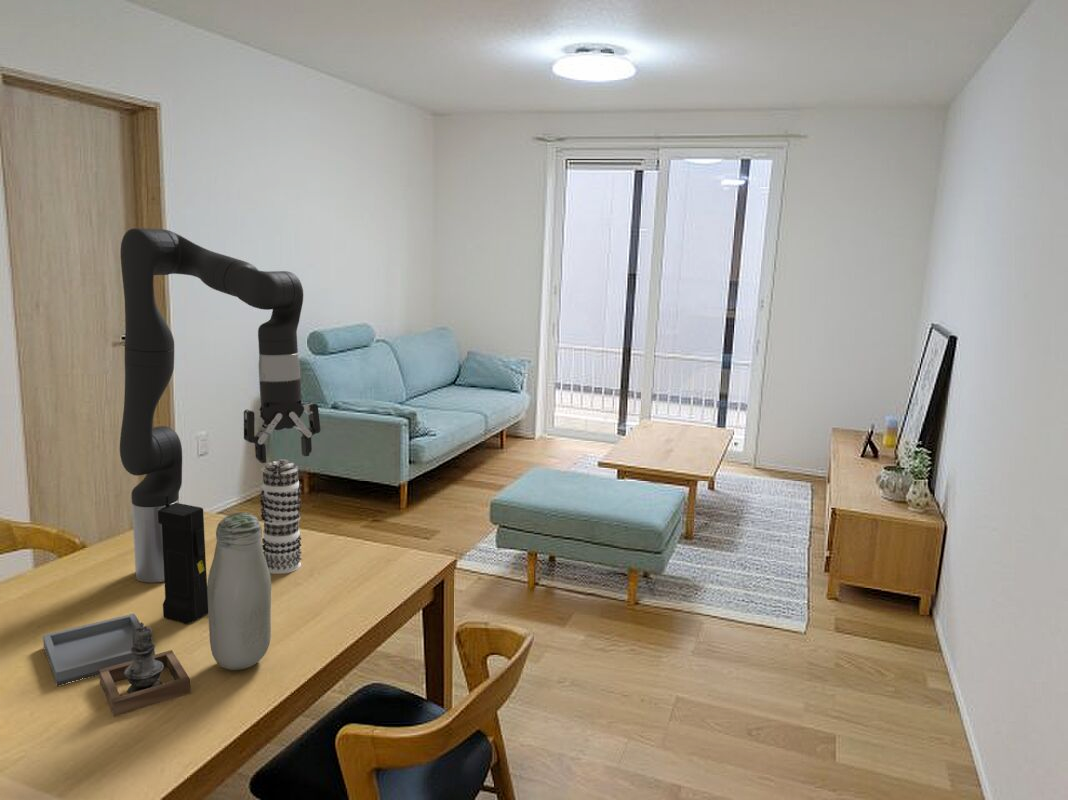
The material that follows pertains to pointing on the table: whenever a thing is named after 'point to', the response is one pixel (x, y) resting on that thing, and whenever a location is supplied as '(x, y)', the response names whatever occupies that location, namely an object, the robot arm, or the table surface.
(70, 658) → the grey tray
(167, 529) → the portable radio
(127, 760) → the table surface
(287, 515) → the decorative candle
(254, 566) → the glass bottle
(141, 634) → the dark grey chess piece
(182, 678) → the walnut collar
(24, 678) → the table surface
